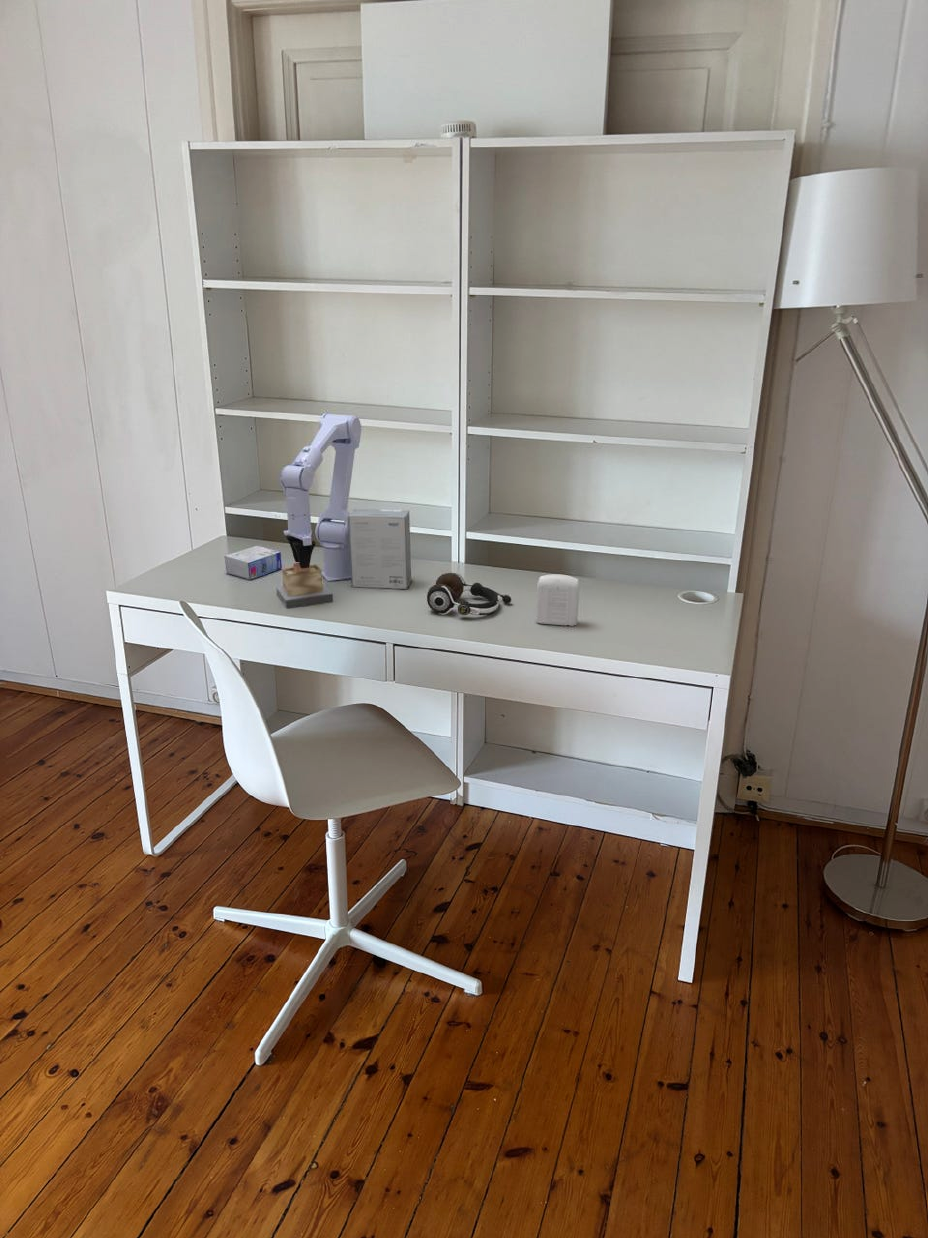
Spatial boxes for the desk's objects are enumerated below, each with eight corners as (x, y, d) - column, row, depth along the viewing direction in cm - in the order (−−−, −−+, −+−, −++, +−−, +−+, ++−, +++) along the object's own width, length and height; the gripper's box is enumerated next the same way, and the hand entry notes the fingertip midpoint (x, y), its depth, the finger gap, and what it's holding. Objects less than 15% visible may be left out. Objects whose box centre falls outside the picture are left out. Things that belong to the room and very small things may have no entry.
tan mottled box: (317, 585, 238) (316, 564, 235) (322, 591, 233) (321, 570, 231) (283, 589, 234) (282, 568, 232) (288, 596, 230) (287, 574, 227)
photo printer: (577, 620, 221) (580, 573, 216) (577, 627, 217) (579, 579, 213) (536, 618, 223) (537, 570, 218) (534, 624, 219) (536, 576, 214)
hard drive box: (412, 580, 247) (411, 509, 240) (407, 590, 240) (406, 517, 233) (356, 577, 249) (353, 507, 241) (350, 587, 242) (347, 515, 234)
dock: (321, 588, 241) (320, 581, 240) (332, 601, 232) (332, 594, 231) (276, 594, 236) (276, 587, 236) (287, 608, 227) (286, 601, 227)
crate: (306, 569, 234) (305, 561, 233) (309, 573, 231) (309, 565, 230) (293, 570, 232) (293, 563, 231) (296, 574, 229) (296, 567, 229)
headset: (442, 564, 236) (516, 581, 233) (438, 591, 239) (511, 608, 236) (425, 585, 220) (504, 604, 217) (421, 614, 223) (499, 633, 220)
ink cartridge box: (250, 581, 246) (288, 566, 257) (248, 562, 244) (287, 548, 255) (226, 574, 251) (264, 559, 262) (224, 555, 249) (262, 541, 260)
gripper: (276, 507, 231) (279, 558, 236) (290, 522, 218) (293, 575, 223) (303, 505, 233) (306, 555, 238) (318, 519, 221) (321, 571, 226)
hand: (302, 564), depth 231 cm, fingers open, 5 cm apart
